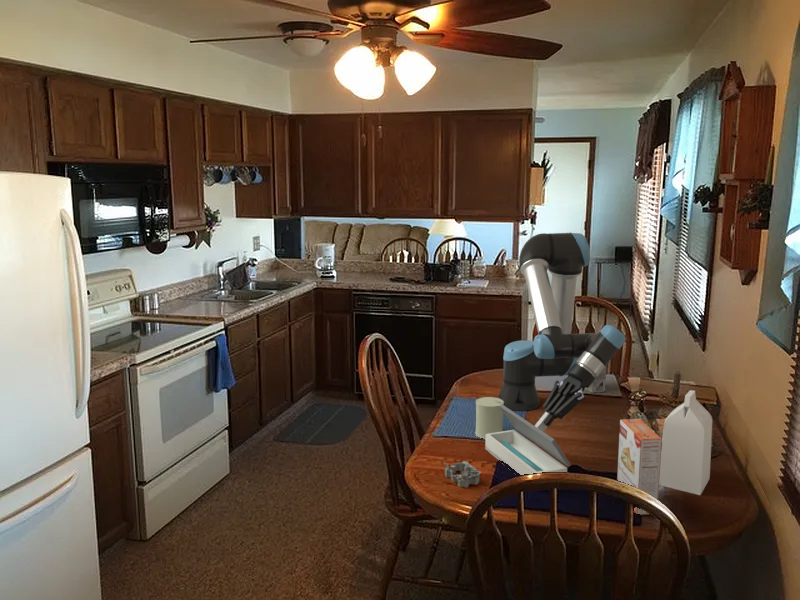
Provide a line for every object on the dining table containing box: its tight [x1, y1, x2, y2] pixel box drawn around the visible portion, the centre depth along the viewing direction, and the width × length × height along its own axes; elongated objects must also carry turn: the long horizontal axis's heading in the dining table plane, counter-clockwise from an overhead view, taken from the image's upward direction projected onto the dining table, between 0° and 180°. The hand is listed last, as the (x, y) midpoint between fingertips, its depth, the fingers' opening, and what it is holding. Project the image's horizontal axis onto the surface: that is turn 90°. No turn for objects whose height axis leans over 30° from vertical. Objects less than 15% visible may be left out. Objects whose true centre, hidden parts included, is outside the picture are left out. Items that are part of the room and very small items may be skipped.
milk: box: [659, 389, 713, 496], centre depth 192 cm, size 12×12×26 cm
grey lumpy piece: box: [442, 460, 482, 488], centre depth 197 cm, size 11×8×4 cm
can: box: [475, 396, 504, 440], centre depth 227 cm, size 9×9×12 cm
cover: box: [500, 404, 571, 467], centre depth 204 cm, size 10×30×1 cm
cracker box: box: [616, 418, 662, 516], centre depth 180 cm, size 14×6×21 cm, turn 3°
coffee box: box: [584, 364, 608, 394], centre depth 272 cm, size 9×6×16 cm
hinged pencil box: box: [484, 429, 568, 475], centre depth 204 cm, size 10×30×5 cm, turn 20°
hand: (536, 432), depth 204 cm, fingers closed
